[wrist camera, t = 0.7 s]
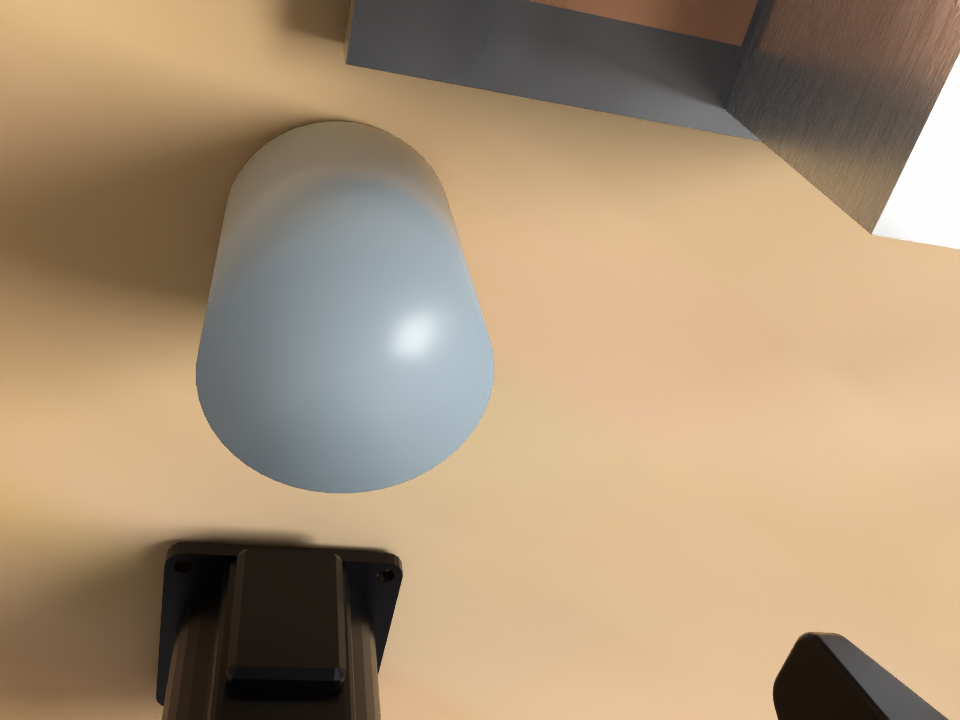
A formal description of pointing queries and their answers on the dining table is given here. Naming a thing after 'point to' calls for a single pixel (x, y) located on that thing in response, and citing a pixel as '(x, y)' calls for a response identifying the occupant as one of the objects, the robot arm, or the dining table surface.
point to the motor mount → (723, 81)
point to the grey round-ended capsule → (341, 315)
